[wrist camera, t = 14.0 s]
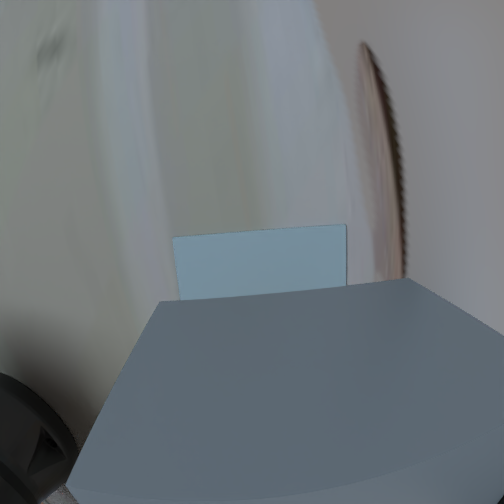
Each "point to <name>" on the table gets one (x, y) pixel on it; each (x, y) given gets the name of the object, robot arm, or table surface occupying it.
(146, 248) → the table surface
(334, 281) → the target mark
